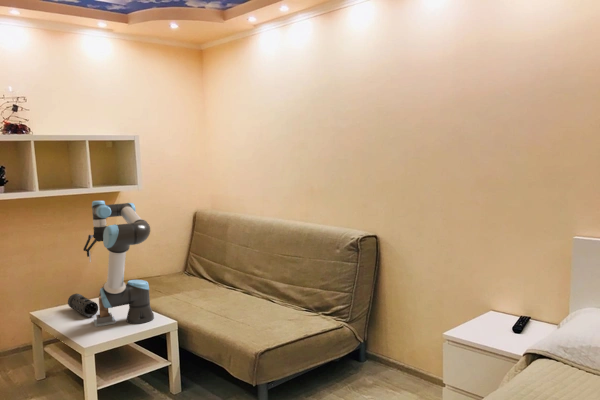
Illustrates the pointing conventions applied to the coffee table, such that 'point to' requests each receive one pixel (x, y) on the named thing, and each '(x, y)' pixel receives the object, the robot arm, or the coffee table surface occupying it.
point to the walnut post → (102, 309)
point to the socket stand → (104, 320)
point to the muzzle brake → (83, 305)
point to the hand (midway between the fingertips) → (102, 260)
